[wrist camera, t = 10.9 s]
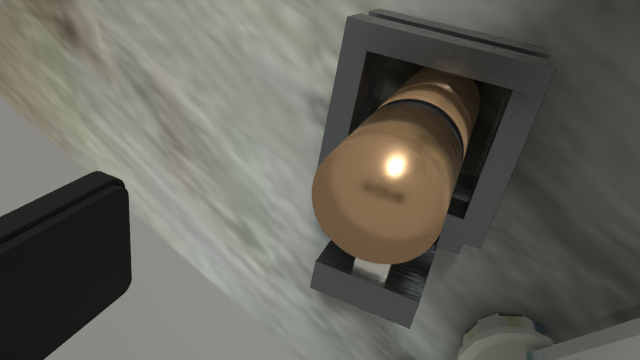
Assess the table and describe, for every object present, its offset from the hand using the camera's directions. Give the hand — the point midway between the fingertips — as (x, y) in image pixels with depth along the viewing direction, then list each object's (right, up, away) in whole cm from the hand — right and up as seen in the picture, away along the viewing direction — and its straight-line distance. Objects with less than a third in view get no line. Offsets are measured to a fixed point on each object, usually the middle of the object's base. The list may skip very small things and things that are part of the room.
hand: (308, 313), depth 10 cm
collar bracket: (+7, +5, +18) cm, 20 cm away
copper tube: (+7, +7, +17) cm, 20 cm away
